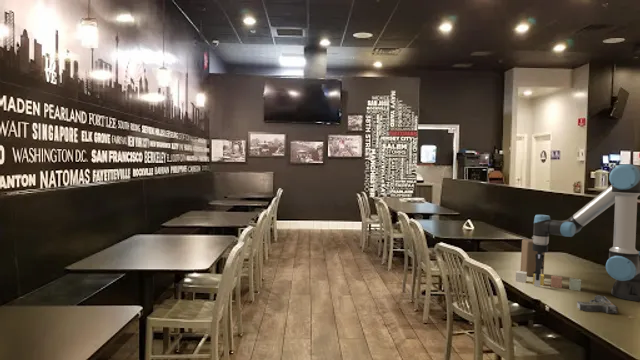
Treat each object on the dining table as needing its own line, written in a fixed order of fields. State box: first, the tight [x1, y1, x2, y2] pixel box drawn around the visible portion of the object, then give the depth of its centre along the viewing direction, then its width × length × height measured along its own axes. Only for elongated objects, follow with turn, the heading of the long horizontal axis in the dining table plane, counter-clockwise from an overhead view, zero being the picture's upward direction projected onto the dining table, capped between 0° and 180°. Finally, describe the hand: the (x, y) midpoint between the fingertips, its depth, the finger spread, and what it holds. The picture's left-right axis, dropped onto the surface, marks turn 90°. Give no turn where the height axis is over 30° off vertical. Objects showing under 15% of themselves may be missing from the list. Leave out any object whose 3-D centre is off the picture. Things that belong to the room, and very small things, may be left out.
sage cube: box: [568, 277, 582, 292], centre depth 234 cm, size 5×5×5 cm
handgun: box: [576, 294, 619, 314], centre depth 205 cm, size 4×20×15 cm
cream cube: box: [515, 270, 528, 284], centre depth 247 cm, size 5×5×5 cm
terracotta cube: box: [550, 275, 563, 289], centre depth 238 cm, size 5×5×5 cm
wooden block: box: [519, 238, 546, 277], centre depth 263 cm, size 10×10×20 cm
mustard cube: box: [532, 274, 545, 286], centre depth 242 cm, size 5×5×5 cm
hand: (537, 283), depth 243 cm, fingers open, 13 cm apart
